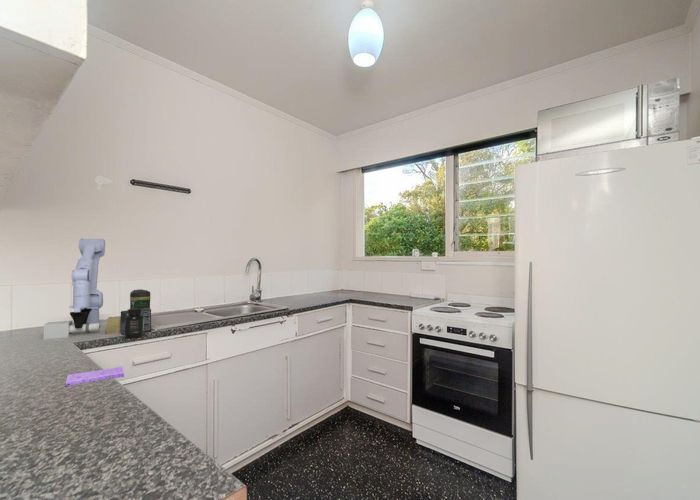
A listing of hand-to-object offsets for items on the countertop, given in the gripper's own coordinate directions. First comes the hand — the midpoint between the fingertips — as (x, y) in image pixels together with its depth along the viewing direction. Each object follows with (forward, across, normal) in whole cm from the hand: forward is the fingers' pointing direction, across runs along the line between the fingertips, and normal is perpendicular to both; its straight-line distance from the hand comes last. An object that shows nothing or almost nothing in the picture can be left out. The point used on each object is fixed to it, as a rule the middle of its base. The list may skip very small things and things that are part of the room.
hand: (80, 326), depth 142 cm
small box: (+4, +7, +21) cm, 22 cm away
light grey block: (+4, 0, -8) cm, 8 cm away
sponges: (+5, +69, +16) cm, 71 cm away
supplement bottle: (+4, +16, +21) cm, 27 cm away
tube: (+3, 0, -3) cm, 4 cm away
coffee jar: (+4, -7, +22) cm, 23 cm away
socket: (+4, 0, +12) cm, 13 cm away
